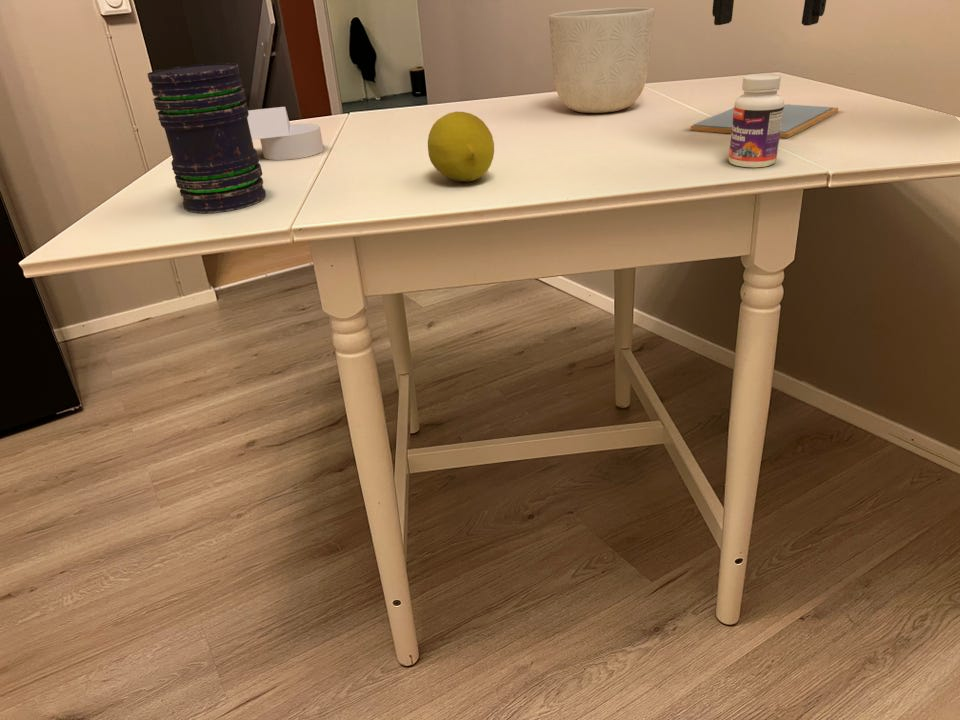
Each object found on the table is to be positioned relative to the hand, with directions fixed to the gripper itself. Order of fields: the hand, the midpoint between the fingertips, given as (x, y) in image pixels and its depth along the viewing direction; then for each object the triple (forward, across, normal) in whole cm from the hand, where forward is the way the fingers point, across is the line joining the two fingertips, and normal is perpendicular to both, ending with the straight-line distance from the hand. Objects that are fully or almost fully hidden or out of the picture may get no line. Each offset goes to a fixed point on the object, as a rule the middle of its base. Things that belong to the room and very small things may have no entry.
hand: (764, 24), depth 77 cm
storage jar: (+16, -46, -43) cm, 65 cm away
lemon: (+16, -26, -22) cm, 38 cm away
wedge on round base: (+16, -62, -24) cm, 69 cm away
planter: (+16, -36, +24) cm, 46 cm away
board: (+15, -7, +24) cm, 29 cm away
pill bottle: (+15, +1, 0) cm, 15 cm away
